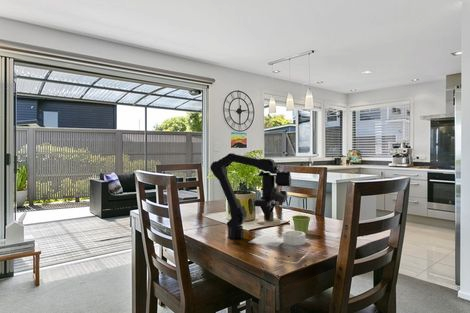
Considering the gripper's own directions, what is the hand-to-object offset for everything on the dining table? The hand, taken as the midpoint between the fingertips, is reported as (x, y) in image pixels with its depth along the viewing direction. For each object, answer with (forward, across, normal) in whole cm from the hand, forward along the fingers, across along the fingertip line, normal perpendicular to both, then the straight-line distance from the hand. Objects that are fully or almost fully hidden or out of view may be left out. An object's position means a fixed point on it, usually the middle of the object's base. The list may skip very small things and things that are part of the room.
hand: (268, 219), depth 141 cm
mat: (+10, 0, 0) cm, 11 cm away
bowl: (+10, +4, -11) cm, 16 cm away
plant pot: (+11, +21, -9) cm, 25 cm away
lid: (+2, 0, 0) cm, 2 cm away
